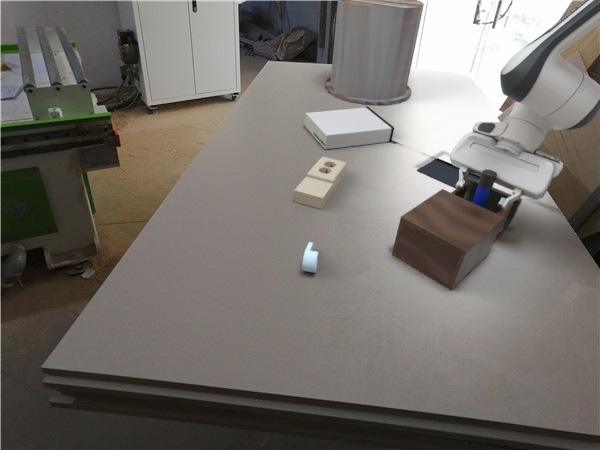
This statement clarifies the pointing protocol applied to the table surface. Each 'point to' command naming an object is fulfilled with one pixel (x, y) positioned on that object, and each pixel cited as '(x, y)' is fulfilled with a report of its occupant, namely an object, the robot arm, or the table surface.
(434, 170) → the mat
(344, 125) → the disc drive
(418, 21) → the storage basket
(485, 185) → the marker
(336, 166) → the electrical outlet
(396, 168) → the table surface
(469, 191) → the drawer
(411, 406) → the table surface
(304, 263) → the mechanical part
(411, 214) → the cabinet
